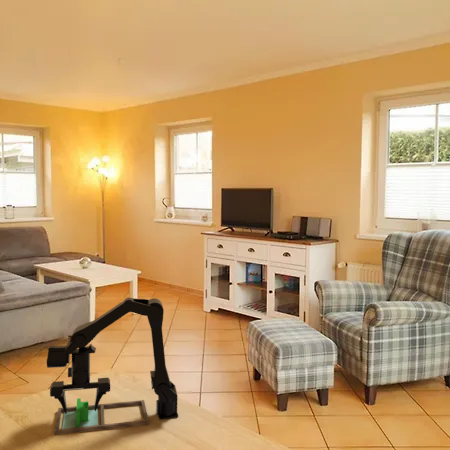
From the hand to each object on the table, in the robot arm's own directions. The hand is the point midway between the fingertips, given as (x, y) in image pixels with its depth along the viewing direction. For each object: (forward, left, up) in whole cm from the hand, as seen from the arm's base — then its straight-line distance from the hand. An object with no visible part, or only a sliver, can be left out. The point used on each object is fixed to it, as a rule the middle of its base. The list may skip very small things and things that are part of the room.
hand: (80, 411), depth 158 cm
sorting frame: (-7, 0, -3) cm, 8 cm away
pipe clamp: (0, -1, -3) cm, 3 cm away
